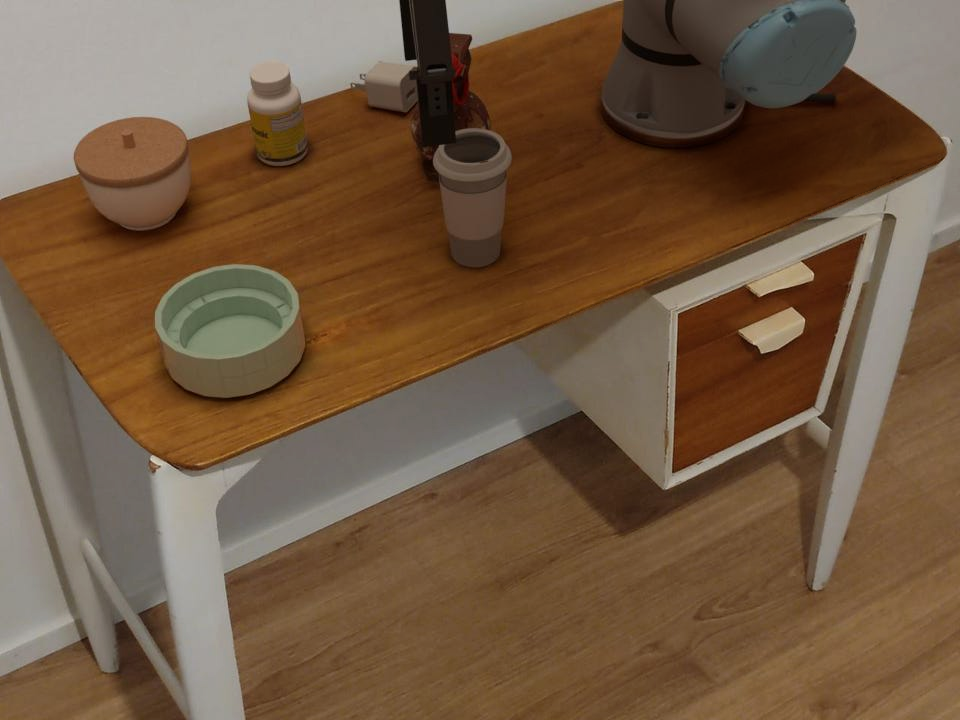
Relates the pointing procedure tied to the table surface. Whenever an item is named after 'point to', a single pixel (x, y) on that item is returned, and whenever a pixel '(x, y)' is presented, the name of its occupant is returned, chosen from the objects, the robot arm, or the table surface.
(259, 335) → the sage bowl
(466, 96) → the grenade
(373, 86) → the usb wall charger
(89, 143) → the trinket box
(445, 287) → the table surface
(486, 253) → the cup
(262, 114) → the supplement bottle
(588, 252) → the table surface
